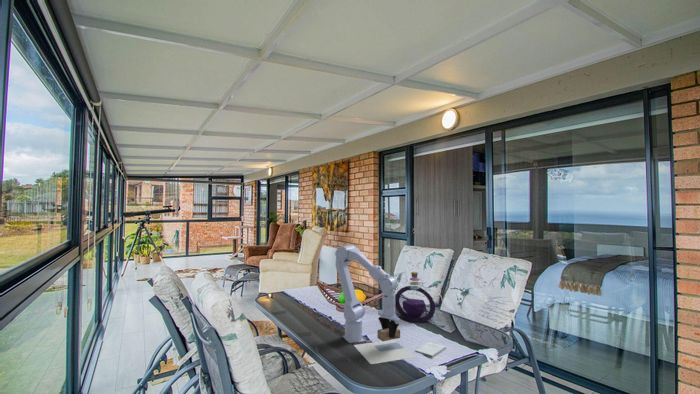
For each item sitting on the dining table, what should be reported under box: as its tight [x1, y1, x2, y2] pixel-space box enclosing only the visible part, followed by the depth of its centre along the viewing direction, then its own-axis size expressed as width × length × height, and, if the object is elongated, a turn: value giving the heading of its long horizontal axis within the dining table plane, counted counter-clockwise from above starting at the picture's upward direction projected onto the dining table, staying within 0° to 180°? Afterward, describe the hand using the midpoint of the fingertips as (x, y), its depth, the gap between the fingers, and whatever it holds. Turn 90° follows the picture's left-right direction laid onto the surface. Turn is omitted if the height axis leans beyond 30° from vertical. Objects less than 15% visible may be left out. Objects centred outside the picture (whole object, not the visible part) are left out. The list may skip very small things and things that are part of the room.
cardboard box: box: [376, 327, 401, 341], centre depth 159 cm, size 9×4×4 cm, turn 118°
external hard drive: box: [414, 341, 447, 359], centre depth 157 cm, size 2×8×12 cm
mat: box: [353, 339, 416, 365], centre depth 155 cm, size 20×20×1 cm
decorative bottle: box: [395, 271, 436, 324], centre depth 202 cm, size 22×21×25 cm
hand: (388, 335), depth 159 cm, fingers closed on cardboard box, 4 cm apart
